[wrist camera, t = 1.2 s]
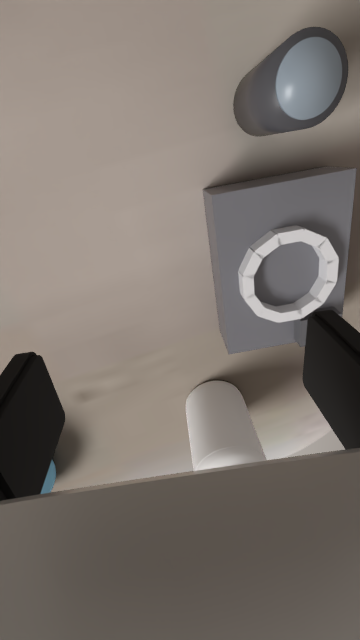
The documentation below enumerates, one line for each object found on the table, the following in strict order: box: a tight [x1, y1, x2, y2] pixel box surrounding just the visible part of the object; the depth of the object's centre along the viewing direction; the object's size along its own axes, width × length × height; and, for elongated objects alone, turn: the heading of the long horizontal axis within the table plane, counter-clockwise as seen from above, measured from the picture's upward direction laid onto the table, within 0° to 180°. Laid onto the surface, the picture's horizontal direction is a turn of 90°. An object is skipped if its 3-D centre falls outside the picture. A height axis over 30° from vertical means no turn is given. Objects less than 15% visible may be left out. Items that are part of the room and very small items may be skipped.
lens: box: [233, 27, 348, 136], centre depth 23 cm, size 5×5×9 cm
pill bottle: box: [186, 381, 267, 471], centre depth 36 cm, size 8×8×15 cm
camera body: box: [203, 166, 357, 354], centre depth 31 cm, size 16×12×7 cm
